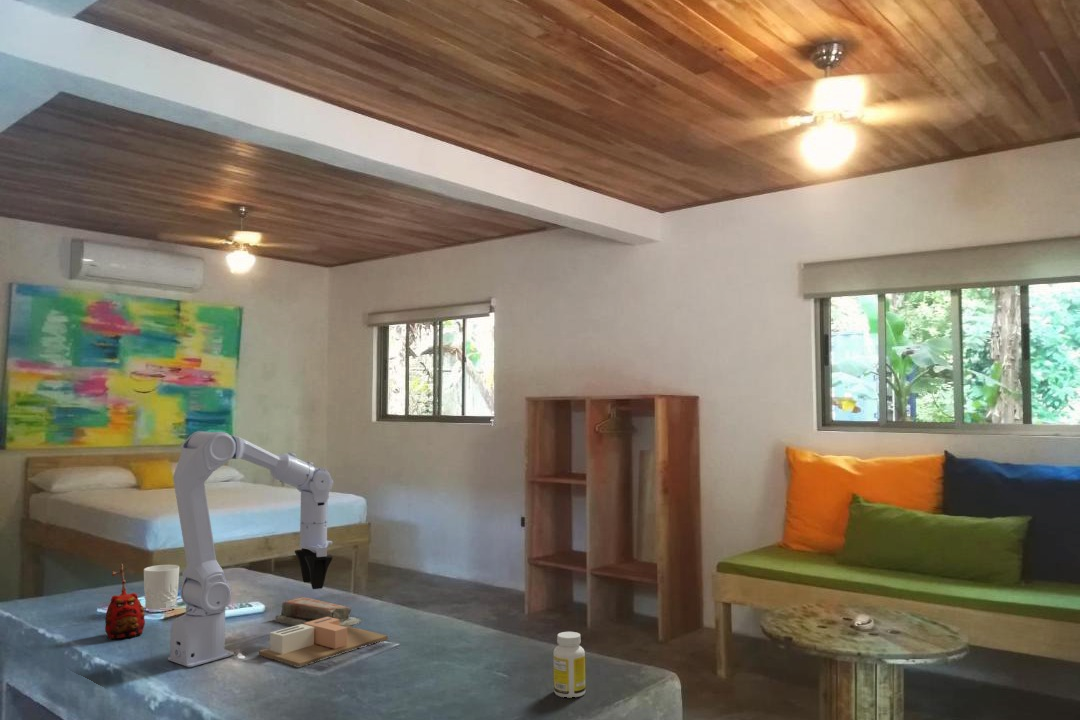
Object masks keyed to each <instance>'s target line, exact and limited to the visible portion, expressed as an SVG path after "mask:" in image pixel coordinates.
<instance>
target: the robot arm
mask: <svg viewBox="0 0 1080 720" xmlns="http://www.w3.org/2000/svg"><path fill="white" fill-rule="evenodd" d="M179 456H180V457H179V459H178V461H177V465H176V466H175V467H176V468H175V470H174V473H173V476H172V477H173V480H172V481H173V485H174V491H175V492H174V493H175V497H176V503H177V510H178V517H179V523H180V528H181V535H182V542H183V546H184V547H183V549H184V554H185V560H186V566H185V567H184V569H183V570H182V572H181V575H182V583H181V587H180V592H179V593H180V597H181V599H182V601H183V602H184V603H185V604H186V605H185V606H186V607H185V613H184V614H183V615H181V616H179V617H176V618H174V619H173V620H172V623H171V626H170V637H169V638H170V641H169V642H170V643H169V644H170V646H169V647H170V649H169V650H170V651H169V657H167V660H168V661H170V662H173V663H176V664H179V665H180V666H184V667H186V668H193V667H196V666H200V665H202V664H203V665H204V664H207V663H210V662H214V661H217V660H220V659H225V658H227V657H230V656H231V657H232V656H234V654H235V653H234V651H230V650H228V649H226V647H225V645H226V641H225V640H226V607H227V606H228V605H229V603H230V602H231V599H232V597H233V591H232V588H231V585H230V583H228V581H227V579H226V577H225V572H224V570H223V568H222V567H221V565H220V564H219V562H218V560H217V557H216V556H217V555H216V550H215V544H214V542H215V541H214V537H213V531H212V525H211V519H210V518H211V517H210V512H209V504H208V499H207V493H206V485H205V484H206V483H205V482H206V481H207V480H208V479H209V477H210V476H211V475H212V474H213V473H214V472H215V471H216V470H218V469H220V468H221V467H222V466H224V465H225V464H227V463H228V462H229V461H230V460H238V459H241V460H244V461H245V462H248V463H251V464H255V465H256V466H259V467H263V468H265V469H267V470H269V471H270V475H271V477H272V478H273V479H275V480H278V481H279V482H282V483H284V484H287V485H289V486H292V487H294V488H296V489H297V491H298V492H300V519H299V520H300V524H299V526H300V528H299V529H300V530H299V543H298V547H299V548H300V549H295V550H294V553H295V555H296V557H297V560H298V563H299V567H300V572H301V577H302V581H303V583H310V585H311V589H312V590H319V589H323V588H324V584H325V581H326V575H327V572H328V568H329V566H330V564H331V563H332V561H333V558H334V557H333V555H331V554H329V555H327V554H328V547H329V546H332V545H333V541H332V540H328V500H329V498H330V497H329V495H330V492H331V490H332V489H333V486H334V484H335V483H334V482H335V481H334V480H333V479H332V475H331V474H330V472H329V471H328V470H327V469H326V468H323V467H322V468H321V467H315V466H314V462H311V461H304V460H301V459H299V458H297V454H295V453H294V452H287V453H286V452H284V453H280V454H278V455H276V454H274V453H272V452H270V451H268V450H266V449H264V448H262V447H260V446H258V445H256V444H255V443H253V442H250V441H248V440H246V439H245V438H242V437H240V436H237V435H230V434H229V433H227V432H224V431H216V432H215V431H214V432H212V431H211V432H210V431H204V430H198V431H195V432H193V433H191V434H190V435H189V436H188V438H186V439H185V440H184V441H183V443H181V445H180V455H179Z"/></svg>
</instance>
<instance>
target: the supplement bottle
mask: <svg viewBox="0 0 1080 720" xmlns="http://www.w3.org/2000/svg"><path fill="white" fill-rule="evenodd" d="M556 636H557V639H556V641H557V646H556V647H555V648H554V649H553V653H552V654H553V657H552V658H553V693H555V694H554V695H556V696H558V697H559V698H560V697H561V698H564V697H567V698H568V699H573V698H572V697H575V698H578V697H579V698H580V697H582V696H583V695H585V693H586V651H585V649H584V648H583V647H582V646H581V645H580V644H581V641H582V640H581V633H580V632H575V631H563V632H559V633H558V634H557V635H556ZM567 698H566V699H567Z"/></svg>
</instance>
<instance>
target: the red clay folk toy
mask: <svg viewBox="0 0 1080 720" xmlns="http://www.w3.org/2000/svg"><path fill="white" fill-rule="evenodd" d="M120 566H121V568H120V569H119V571H114V570H113V571H112V573H111V577H114V576H116V575H118V574H120V575H121V579H122V581H121V583H122V588H121V593H120V594H118V595H115V594H114V595H113V596H111V599H110V603H109V605H108V607H107V610H106V612H105V617H104V618H105V619H104V621H105V622H104V623H105V626H104V628H105V633H106V635H107V638H108V639H110V640H117V639H124V638H135V637H138V636H140V635H142V634H143V630H144V628H145V626H146V625H145V624H146V619H145V616H146V615H145V608H144V607H143V605H142V603H141V601H140V600H139V598H138V597H139V596H138V594H137V593H136V592H132V593H127V589H126V585H125V584H126V582H127V581H126V580H125V570H127V568H128V567H124V565H123V563H120Z"/></svg>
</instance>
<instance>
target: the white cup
mask: <svg viewBox="0 0 1080 720" xmlns="http://www.w3.org/2000/svg"><path fill="white" fill-rule="evenodd" d="M180 569H181V568H180V565H178V564H159V565H151V566H148V567H145V568H143V588H144V590H143V591H144V600H145V601H144V605H145V607H146V608H148V609H160V608H166V607H170V606H173V605H175V604H176V603H177V602H178V601H177V598H178V595H179V594H178V593H179V582H180V581H179V580H180V579H179V578H180ZM176 605H177V604H176ZM145 607H144V608H145Z"/></svg>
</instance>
